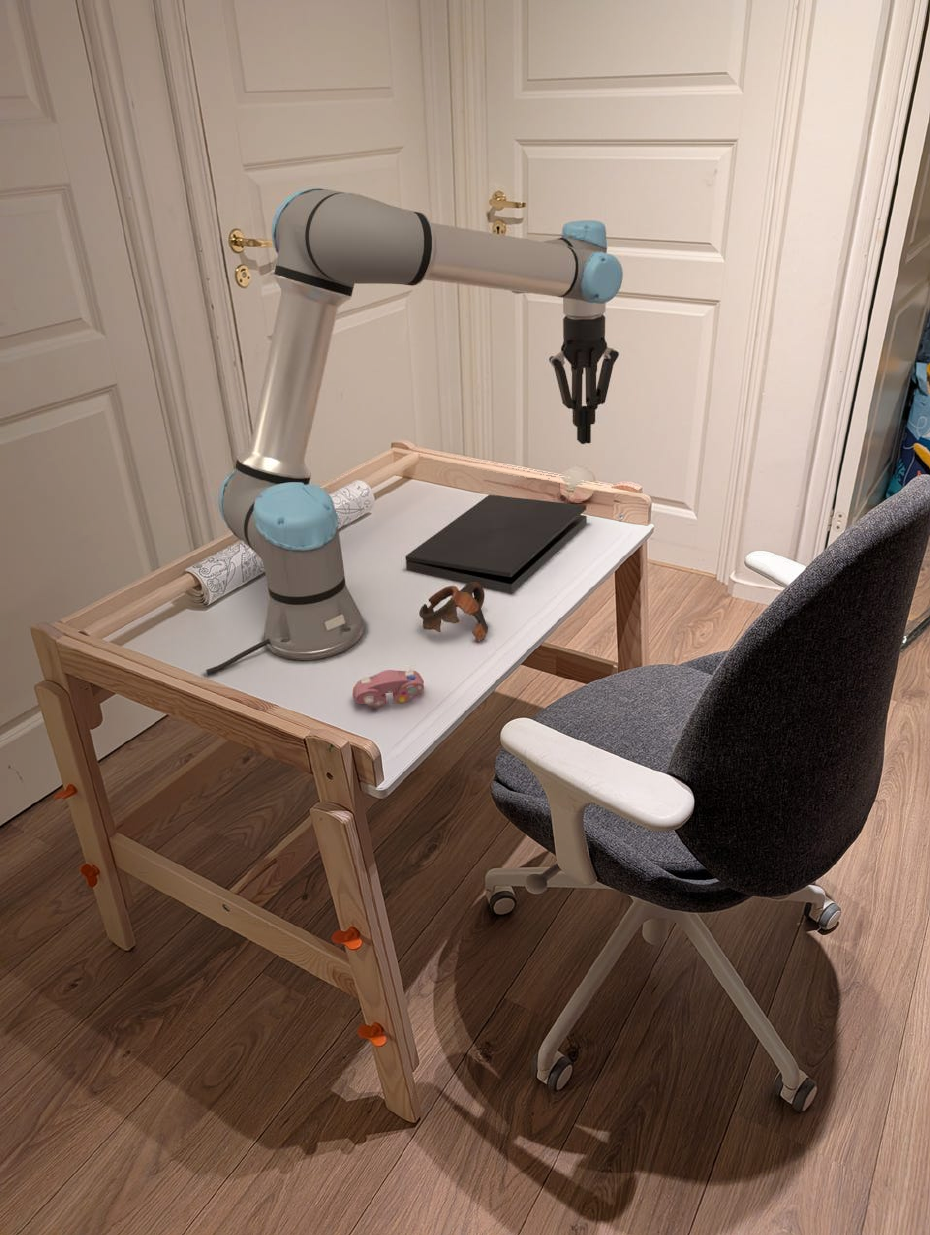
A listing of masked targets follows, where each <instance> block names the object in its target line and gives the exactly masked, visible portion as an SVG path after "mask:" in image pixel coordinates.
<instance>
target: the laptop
mask: <svg viewBox="0 0 930 1235" xmlns="http://www.w3.org/2000/svg"><path fill="white" fill-rule="evenodd" d="M587 523H588V516H587V515H585V514H581V515H580V516H578V517H577V518H576V519H575V520H574V521H573V522H572V523H571V524H570V525H568V526H567V527H566V528H565V529H564V530H563V531H562V532H561V533H560V534H558V535H557V536H556V537H555V538H554V539H553V540H552V541H551V542H550V543H548V544H547V545H546V546H545V547H544V548H543V549H542V550H541V551H539V552H538V553H537V554H536V555H535V556H534V557H533V558H532V559H531V560H529V561H528V562H527V563H526V564H525V565H524V566H523V567H522V568H521V569H519V570H518V571H517V572H516V573H515V574H514V575H513V576H512V577H506V576H500V575H494V574H488V573H482V572H475V571H469V570H463V569H457V568H451V567H444V566H438V565H432V564H426V563H420V562H414V561H407V560H406V559H405V566H406V571H410V572H414V573H417V574H421V575H422V574H424V575H427V576H430V577H431V576H432V577H436V578H440V579H444V580H448V581H453V582H458V583H461V584H466V585H467V584H468V583H472V582H476V583H478V584H480V585H481V586H482V588H483V589H488V590H493V591H496V592H500V593H505V594H508V595H509V594H510V595H512V594H514V593H516V591H517V590H518V589H519V588H520V587H521V586H522V585H524V583H526V582H527V581H528V580H529V579H530V578H531V577H532V576H533V575H534V574H535V573H536V572H537V571H538V570H539V569H540V568H542V567H543V566H544V565H545V564H546V563H547V562H548V561H549V560H550V559H551V558H552V557H553V556H555V555H556V554H557V553H558V552H559V551H560V550H561V549H562V548H563V547H564V546H565V545H567V544H568V543H569V542H570V541H571V540H572V539H573V538H574V537H575V536H576V535H577V534H578V533H579V532H581V531H582V530H583V529H584V528H585V527H586V526H587V525H588V524H587Z"/></svg>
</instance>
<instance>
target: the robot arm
mask: <svg viewBox="0 0 930 1235" xmlns="http://www.w3.org/2000/svg"><path fill="white" fill-rule="evenodd" d="M561 230H562V231H561V234H560V235H561V237H559V238H555V239H549V240H543V241H540V240H534V239H528V238H521V237H517V236H510V235H505V234H499V233H495V232H487V231H482V230H476V229H470V228H464V227H459V226H453V225H448V224H442V223H435V222H431V221H430V219H429V216H427V215H426V214H425V213H423V212H419V211H413V210H409V209H404V208H400V207H397V206H394V205H391V204H388V203H385V202H384V201H383V202H382V201H379V200H377V199H374V198H372V197H368V196H365V195H362V194H360V193H359V194H358V193H353V192H344V191H339V190H334V189H328V188H322V187H316V188H315V187H312V188H308V189H301V190H298V191H296V192H294V193H292V194H291V195H289V196H288V197H287V198H285V199H284V200H283V201H282V202H281V204H280V205H279V206H278V208H277V210H276V212H275V213H274V217H273V219H272V224H271V240H272V245H273V248H274V249H275V252H276V253H277V256H276V262H275V268H274V272H273V278H274V280H275V281H276V283H277V285H278V287H279V288H280V296H279V302H278V307H277V312H276V317H275V323H274V326H273V332H272V337H271V341H270V346H269V351H268V356H267V361H266V365H265V371H264V375H263V381H262V386H261V390H260V394H259V395H260V396H259V400H258V405H257V409H256V414H255V418H254V423H253V429H252V434H251V439H250V444H249V447H248V448H247V449H245V451H243V452H241V453H239V454H238V455H237V457H236V462H235V466H234V470H233V471H232V472H231V473H229V474H227V476H226V477H225V479H224V480H223V481H222V484H221V486H220V488H219V491H218V492H219V493H218V499H217V500H218V502H217V503H218V509H219V513H220V515H221V518H222V520H223V522H224V523H225V524H226V527H227V528H228V530H230V531H231V533H232V534H233V535H234V536H235V537H236V538H237V539H239V540H240V541H242V542H243V543H244V544H245V545H246V546H248V548H250V549H251V550H252V551H253V552H254V553H255V554H257V556H258V557H259V558H260V559H261V561H262V563H263V568H264V573H265V580H266V584H267V589H268V595H269V599H268V604H267V611H266V617H265V623H264V638H265V640H263V641H261V642H258V643H257V644H254V645H253V646H251V647H249V648H247V649H245V650H244V651H242V652H240V653H238V654H236V655H234V656H232V657H230V658H229V659H228V660H226V661H224V662H222V663H220V664H218V665H216V666H214V667H210V668H207V669H206V670H205V671H206V672H205V673H206V674H207V675H210V674H211V675H212V674H213V673H216V672H219V671H221V670H223V669H225V668H227V667H229V666H231V665H233V664H235V663H236V662H238V661H239V660H241V659H243V658H244V657H247V656H248V655H250V654H252V653H254V652H256V651H258V650H260V649H262V648H264V647H265V646H267V648H268V649H269V650H270V652H272V653H273V654H274V655H276V656H278V657H280V658H281V657H282V658H285V659H288V660H294V661H296V660H297V661H311V660H312V661H313V660H320V659H324V658H330V657H333V656H335V655H337V654H340V653H343V652H345V651H346V650H348V649H350V648H351V647H353V646H354V645H355V644H357V642H359V641H360V639H361V638H362V636H363V634H364V622H363V617H362V614H361V612H360V609H359V607H358V606H357V603H356V602H355V600H354V598H353V596H352V595H351V592H350V590H349V589H348V586H347V583H346V576H345V569H344V561H343V553H342V546H341V539H340V538H341V537H340V531H339V530H340V529H339V516H338V513H337V510H336V508H335V502H334V500H333V499H332V496H331V495H330V494H329V493H328V491H326V490H325V489H323V487H320V486H319V485H315V484H312V483H310V481H311V478H312V472H311V471H310V469H309V467H308V466H307V464H306V462H305V459H306V455H307V449H308V445H309V442H310V436H311V431H312V428H313V423H314V418H315V414H316V409H317V405H318V400H319V397H320V396H319V395H320V392H321V388H322V383H323V379H324V375H325V369H326V365H327V361H328V358H329V357H328V356H329V352H330V348H331V347H330V346H331V342H332V339H333V334H334V330H335V324H336V321H337V316H338V311H339V308H340V307H341V306H342V305H344V304H345V303H346V302H348V301H350V300H352V296H353V292H354V287H355V284H358V285H359V284H362V285H365V284H366V285H367V284H368V285H369V284H371V285H372V284H375V285H376V284H379V285H380V284H383V285H384V284H385V285H386V284H387V285H403V286H410V287H411V286H412V287H414V286H418V285H420V284H421V283H422V282H424V280H425V281H433V282H439V283H440V282H441V283H448V284H456V285H464V286H473V287H478V288H479V287H480V288H487V289H493V290H495V289H496V290H502V291H503V290H504V291H510V292H511V293H514V294H517V295H519V294H534V295H541V296H549V297H557V298H562V313H563V314H564V315H565V316H564V317H563V319H562V337H563V343H562V345H561V347H560V351H559V352H558V353H557V354H556V355H551V356H549V358H548V361H549V363H550V365H551V366H552V367H553V369H554V372H555V377H556V381H557V386H558V389H559V393H560V398H561V402H562V404H563V405H564V406H565V407H566V408H567V409H568V410H569V409H571V410H572V424H573V426H574V427H575V428H576V440H577V441H578V442H579V443H580V444H581V445H586V444H591V442H592V440H591V439H592V425H595V423H596V410H597V409H598V407H599V406H600V405H604V404H605V403H606V400H607V397H608V396H607V395H608V391H609V387H610V382H611V378H612V375H613V374H612V373H613V369H614V365H615V363H616V361H617V359H618V358H619V356H620V352H618V351H617V350H616V349H614V348H612V347H610V346H608V342H607V341H606V316H605V315H604V313H606V311H607V310H606V308H607V307H606V305H607V304H606V303H609V302H611V301H612V300H613V299H614V298H615V297H616V296H617V294H618V293H619V291H620V289H621V287H622V284H623V279H624V278H623V277H624V276H623V275H624V273H623V272H624V271H623V266H622V264H621V261H620V260H619V259H618V257H616V256H615V255H614V254H611V253H608V244H607V229H606V225H605V224H604V223H603V222H601V221H599V220H593V219H592V220H590V219H589V220H587V219H586V220H583V219H581V220H573V221H569V222H566V223H564V224H563V226H562V229H561ZM602 357H603V360H602V364H601V368H600V372H599V376H598V379H597V372H598V363H599V362H600V360H601V358H602ZM565 359H566V361H567V362H568V363H569V365H570V371H571V390H570V386H569V381H568V377H567V373H566V370H565V367H564V366H565V363H566V362H565ZM584 372H585V375H584ZM583 375H584V376H585V404H586V405H583V380H584V379H583V378H584V377H583ZM597 380H598V381H597Z"/></svg>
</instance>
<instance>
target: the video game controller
mask: <svg viewBox="0 0 930 1235" xmlns="http://www.w3.org/2000/svg"><path fill="white" fill-rule="evenodd" d="M424 690H425V685H424V679H423V677H422V676H421V674H420V673H419V672H418V671H416V670H414V669H411V668H410V669H407V670H395V669H386V670H382V671H380V672H378V673H375V674H374V675H371V676H367V677H366V676H365V677H363V678H361V679H360V680H358V681H357V682H356V683H355V685H354V686H353V688H352V698H353V700H354V702H355V704H357V705H361V704H362V705H369V706H370V707H372V708H376V709H378V708H382V707H384V706H386V705H387V703H388V701H387V695H386V694H392V699H393V702H394V703H395V704H404V703H408V701H410V699H411V698H412V697H414V696H416V695H419V694H420V693H422V692H423V691H424Z"/></svg>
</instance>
